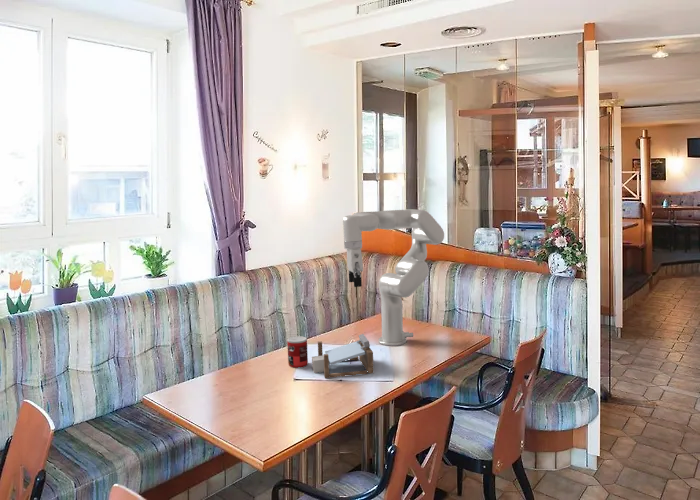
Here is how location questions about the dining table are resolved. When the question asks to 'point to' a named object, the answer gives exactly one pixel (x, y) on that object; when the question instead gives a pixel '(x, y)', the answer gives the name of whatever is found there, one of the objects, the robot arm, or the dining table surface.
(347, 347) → the trapdoor
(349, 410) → the dining table surface
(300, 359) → the canned food
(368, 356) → the frame
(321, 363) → the light grey block
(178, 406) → the dining table surface
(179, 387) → the dining table surface
